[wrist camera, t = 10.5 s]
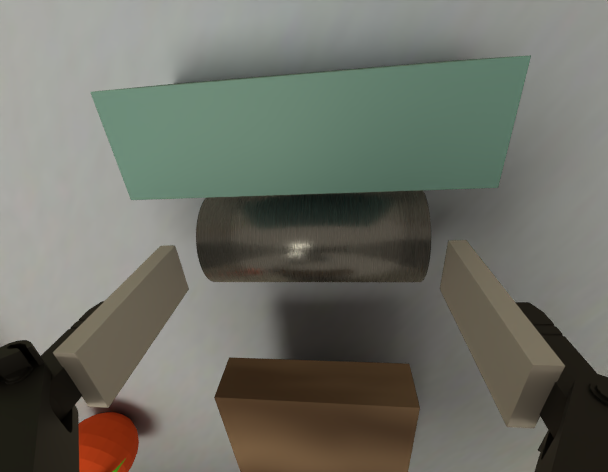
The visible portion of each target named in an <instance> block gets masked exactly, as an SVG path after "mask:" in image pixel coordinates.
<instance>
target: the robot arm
mask: <svg viewBox="0 0 608 472" xmlns="http://www.w3.org/2000/svg"><path fill="white" fill-rule="evenodd" d="M188 290H189V288H188V285H187V282H186V279H185V275H184V272H183V269H182V266H181V263H180V260H179V256H178V253H177V250H176V247H175V246H160V247H159V248H158V249H157V250H156V251H155V252H154V253H153V254H152V255H151V256H150V257H149V258H148V259H147V260H146V261H145V262H144V263H143V264H142V265H141V266H140V267H139V268H138V269H137V270H136V271H135V272H134V273H133V274H132V275H131V276H130V277H129V278H128V279H127V280H126V281H125V282H124V283H123V284H122V285H121V286H120V287H119V288H118V289H117V290H116V291H114V292H113V293H112V294H111V295H110V296H109V297H108V298H107V299H106V300H105V301H104V302H100V303H99V304H97V305H96V306H94V307H93V308H91V309H89V310H88V311H87V312H86V313H85V314H84V315H83V316H82V317H81V318H80V319H79V321H77V322H76V323H75V324H74V325H73V326H72V327H71V329H68V330H67V331H66V332H65V333H64V334H63V335H62V336H61V337H60V338H59V339H58V340H57V341H56V342H55V343H54V344H53V345H52V346H51V347H50V348H49V349H48V350H46V351H45V352H44V353H43V354H42V355H41V356H40V355H39V353H38V352H37V350H36V349H35V347H34V346H33V345H32V343H31V342H29V341H27V340H22V341H16V342H12V343H9V344H7V345H4V346H2V347H0V472H79V425H78V410H77V408H76V406H75V404H76V403H77V401H78V400H79V399H80V398H81V396H82V397H83V399H84V400H85V402H86V403H87V405H88V406H89V407H105V408H109V406H110V405H111V403H112V402H113V400H114V399H115V397H116V396H117V394H118V393H119V392H120V390H121V389H122V387H123V386H124V384H125V383H126V381H127V380H128V378H129V377H130V375H131V374H132V372H133V371H134V369H135V368H136V366H137V365H138V363H139V362H140V361H141V359H142V358H143V356H144V355H145V353H146V352H147V350H148V349H149V347H150V346H151V344H152V343H153V341H154V340H155V338H156V337H157V335H158V334H159V333H160V331H161V330H162V328H163V327H164V325H165V324H166V322H167V321H168V319H169V318H170V316H171V315H172V313H173V312H174V310H175V309H176V307H177V306H178V304H179V303H180V302H181V300H182V299H183V297H184V296H185V294H186V293H187V291H188ZM440 290H441V292H442V294H443V297H444V299H445V301H446V303H447V305H448V307H449V309H450V311H451V313H452V315H453V317H454V319H455V321H456V323H457V325H458V327H459V329H460V331H461V334H462V336H463V338H464V340H465V342H466V344H467V346H468V348H469V350H470V352H471V354H472V356H473V358H474V360H475V362H476V364H477V366H478V368H479V371H480V373H481V375H482V377H483V379H484V381H485V383H486V385H487V387H488V389H489V391H490V393H491V395H492V397H493V399H494V401H495V403H496V405H497V407H498V410H499V412H500V414H501V416H502V418H503V420H504V422H505V424H506V426H507V427H521V428H535V426H536V424H537V422H538V420H539V418H540V416H541V418H542V420H543V421H544V423H545V425H546V426H547V428H548V432H547V434H546V436H545V437H544V439H543V441H542V443H541V445H540V447H539V449H538V451H540V456H539V459H538V462H537V465H536V469H535V472H608V377H605V376H602V375H599V374H597V373H596V372H595V371H594V369H593V368H592V367H591V366H590V365H589V364H588V363H587V361H586V360H585V359H584V358H583V357H582V356H581V355H580V353H579V352H578V351H577V350H576V349H575V348H574V347H573V345H572V344H571V343H570V342H569V341H568V340H567V339H566V337H565V336H563V335H562V333H561V332H560V331H559V329H558V328H557V327H556V326H554V324H553V322H552V321H551V320H550V319H549V318H548V317H547V316H546V314H545V313H544V312H542V311H541V310H539V309H538V308H536V307H535V306H533V305H532V304H530V303H529V302H514V300H513V299H512V298H511V297H510V295H509V294H508V293H507V291H506V290H505V289H504V288H503V286H502V285H501V284H500V283H499V281H498V280H497V279H496V277H495V276H494V275H493V274H492V272H491V271H490V270H489V269H488V267H487V266H486V265H485V264H484V262H483V261H482V260H481V258H480V257H479V256H478V255H477V253H476V252H475V251H474V250H473V248H472V247H471V246H470V244H469V243H468V242H467V241H466V240H450V241H448V245H447V251H446V257H445V262H444V268H443V274H442V280H441V285H440Z"/></svg>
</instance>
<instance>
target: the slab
mask: <svg viewBox="0 0 608 472" xmlns="http://www.w3.org/2000/svg"><path fill="white" fill-rule="evenodd" d="M214 398H215V401H216V403H217V406H218V409H219V412H220V415H221V418H222V420H223V423H224V426H225V429H226V432H227V435H228V437H229V440H230V443H231V446H232V449H233V452H234V454H235V457H236V460H237V463H238V466H239V469H240V471H241V472H408V469H409V463H410V458H411V453H412V447H413V442H414V437H415V431H416V426H417V421H418V415H419V410H420V406H419V402H418V398H417V394H416V390H415V386H414V381H413V377H412V373H411V369H410V365H409V364H402V363H373V362H344V361H314V360H285V359H256V358H229V360H228V362H227V365H226V368H225V370H224V373H223V376H222V378H221V381H220V384H219V386H218V389H217V392H216V394H215V397H214Z"/></svg>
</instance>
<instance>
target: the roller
mask: <svg viewBox="0 0 608 472" xmlns="http://www.w3.org/2000/svg"><path fill="white" fill-rule="evenodd" d="M196 245H197V253H198V258H199V262H200V265H201V268H202V270H203V272H204V274H205V276H206V277H207V278H208V279H209V280H210V281H213V282H422V281H423V280H424V278H425V276H426V274H427V270H428V266H429V261H430V252H431V222H430V213H429V207H428V203H427V199H426V196H425V193H424V191H423V190H416V191H386V192H356V193H327V194H297V195H267V196H238V197H208V198H206V199H205V200H204V202H203V203H202V206H201V208H200V211H199V215H198V220H197V228H196Z"/></svg>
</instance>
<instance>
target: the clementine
mask: <svg viewBox="0 0 608 472" xmlns="http://www.w3.org/2000/svg"><path fill="white" fill-rule="evenodd" d="M78 425H79V472H128V471H129V470H130V468H131V466H132V464H133V462H134V459H135V457H136V454H137V451H138V444H139V440H138V433H137V429H136V427H135V425H134V424H133V422H132V421H131V420H130V419H129V418H128V417H126V416H124V415H122V414H119V413H115V412H106V413H100V414H96V415H94V416H92V417H89V418H87V419H85V420H83V421H82V422H81V423H79V424H78Z"/></svg>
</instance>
